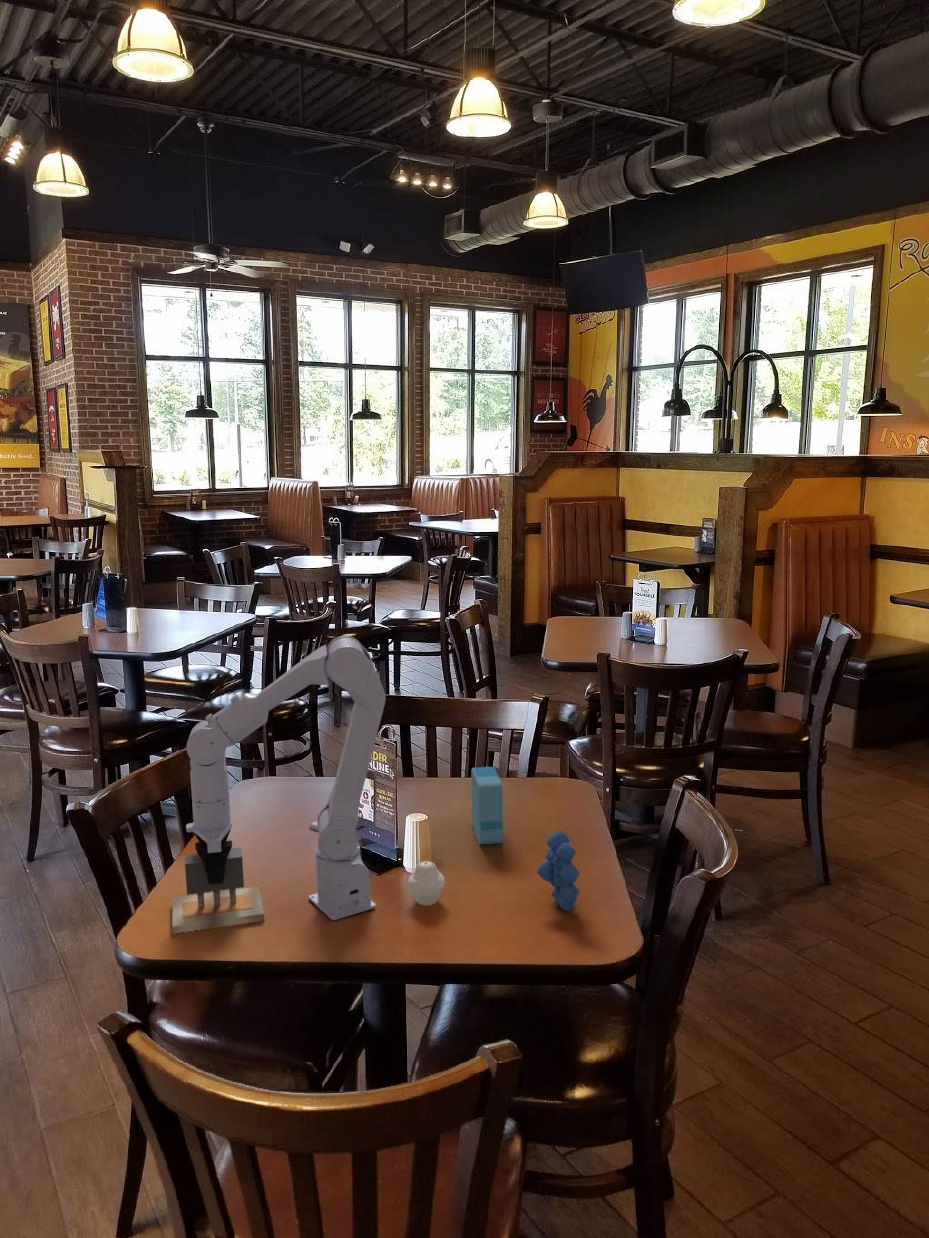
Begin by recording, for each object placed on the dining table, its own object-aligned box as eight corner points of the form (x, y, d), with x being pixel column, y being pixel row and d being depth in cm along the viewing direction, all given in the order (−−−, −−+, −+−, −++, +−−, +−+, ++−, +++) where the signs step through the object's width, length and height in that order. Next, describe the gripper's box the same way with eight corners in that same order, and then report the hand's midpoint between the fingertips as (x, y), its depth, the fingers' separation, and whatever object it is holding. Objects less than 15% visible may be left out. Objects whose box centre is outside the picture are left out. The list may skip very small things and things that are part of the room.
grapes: (527, 889, 161) (527, 822, 159) (565, 885, 162) (566, 819, 160) (546, 923, 150) (546, 851, 148) (587, 918, 151) (588, 847, 149)
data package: (503, 846, 179) (502, 785, 177) (479, 847, 178) (478, 786, 176) (494, 821, 190) (493, 764, 188) (471, 822, 190) (471, 765, 188)
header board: (259, 892, 161) (258, 869, 160) (264, 920, 151) (263, 896, 151) (173, 905, 157) (171, 881, 156) (172, 934, 148) (170, 909, 147)
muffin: (432, 913, 153) (431, 872, 152) (400, 904, 156) (399, 864, 155) (452, 897, 158) (451, 858, 157) (421, 889, 162) (421, 850, 160)
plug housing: (187, 894, 150) (185, 864, 149) (186, 884, 154) (184, 854, 153) (243, 887, 153) (242, 856, 152) (242, 877, 156) (240, 847, 155)
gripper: (184, 784, 156) (189, 861, 159) (184, 816, 143) (190, 900, 145) (228, 779, 158) (232, 856, 161) (232, 811, 145) (237, 894, 147)
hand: (215, 877), depth 153 cm, fingers closed on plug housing, 4 cm apart
